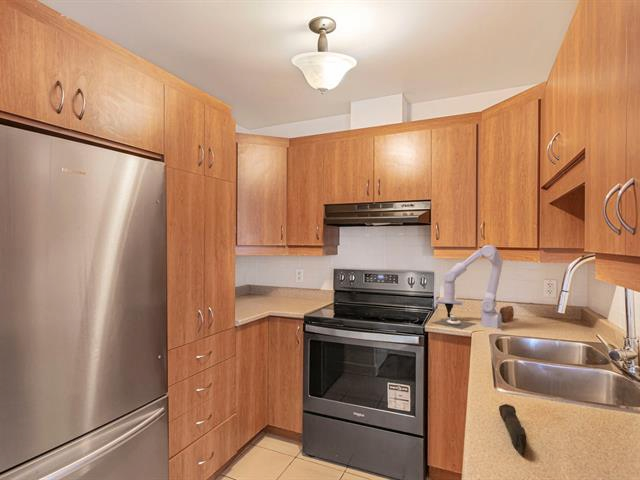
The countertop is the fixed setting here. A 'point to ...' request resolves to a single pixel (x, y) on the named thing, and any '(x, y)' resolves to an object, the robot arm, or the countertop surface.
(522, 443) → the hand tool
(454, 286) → the robot arm
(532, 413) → the countertop surface
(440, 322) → the dial plate
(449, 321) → the dial
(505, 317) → the brown slab
